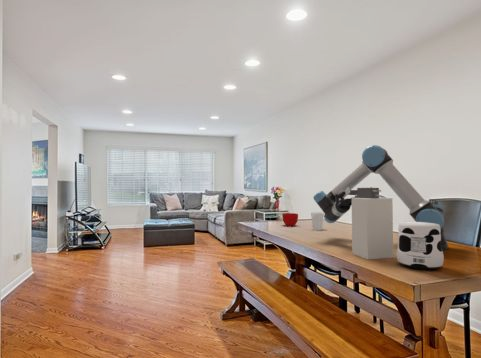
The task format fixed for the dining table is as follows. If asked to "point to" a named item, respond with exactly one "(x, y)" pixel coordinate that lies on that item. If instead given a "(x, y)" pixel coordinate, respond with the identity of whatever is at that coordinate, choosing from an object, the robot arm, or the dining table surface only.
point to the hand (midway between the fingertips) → (360, 189)
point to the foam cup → (317, 220)
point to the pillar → (372, 227)
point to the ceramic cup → (290, 219)
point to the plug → (366, 192)
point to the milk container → (420, 245)
